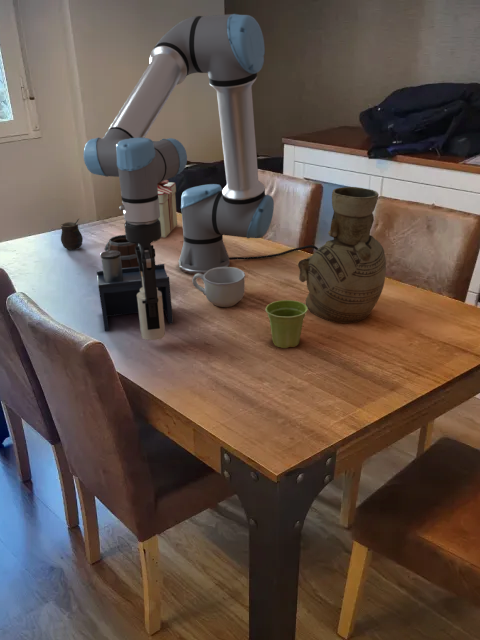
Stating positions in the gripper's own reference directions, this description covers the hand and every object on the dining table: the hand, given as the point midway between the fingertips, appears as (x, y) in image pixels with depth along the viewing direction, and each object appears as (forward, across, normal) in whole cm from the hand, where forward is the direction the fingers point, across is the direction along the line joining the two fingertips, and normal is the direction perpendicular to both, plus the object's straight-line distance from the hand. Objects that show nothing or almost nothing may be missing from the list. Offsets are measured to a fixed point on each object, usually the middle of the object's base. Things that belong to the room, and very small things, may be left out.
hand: (152, 322), depth 145 cm
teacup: (+6, -22, +20) cm, 30 cm away
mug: (+6, -38, -4) cm, 39 cm away
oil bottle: (+3, 0, 0) cm, 3 cm away
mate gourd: (+6, -81, -18) cm, 83 cm away
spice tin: (-5, -17, -7) cm, 19 cm away
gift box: (+6, -90, +10) cm, 91 cm away
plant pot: (+6, +6, +30) cm, 31 cm away
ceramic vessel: (+6, -6, +48) cm, 49 cm away
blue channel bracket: (+6, -17, -2) cm, 18 cm away
